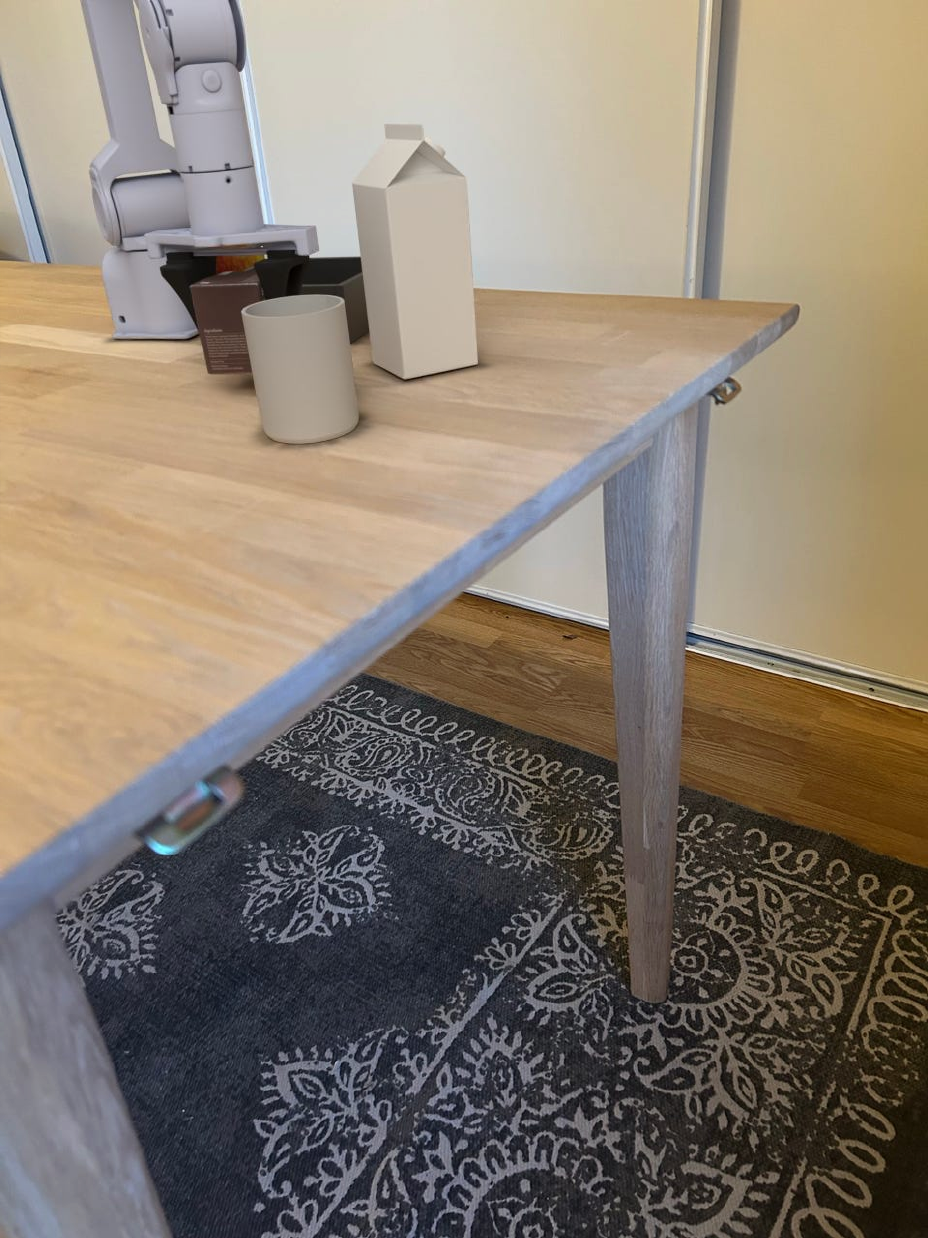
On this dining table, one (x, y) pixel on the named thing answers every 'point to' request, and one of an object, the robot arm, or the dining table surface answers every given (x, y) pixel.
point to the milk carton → (416, 256)
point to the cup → (302, 367)
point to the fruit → (236, 260)
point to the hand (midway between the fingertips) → (249, 345)
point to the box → (225, 319)
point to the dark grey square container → (339, 288)
